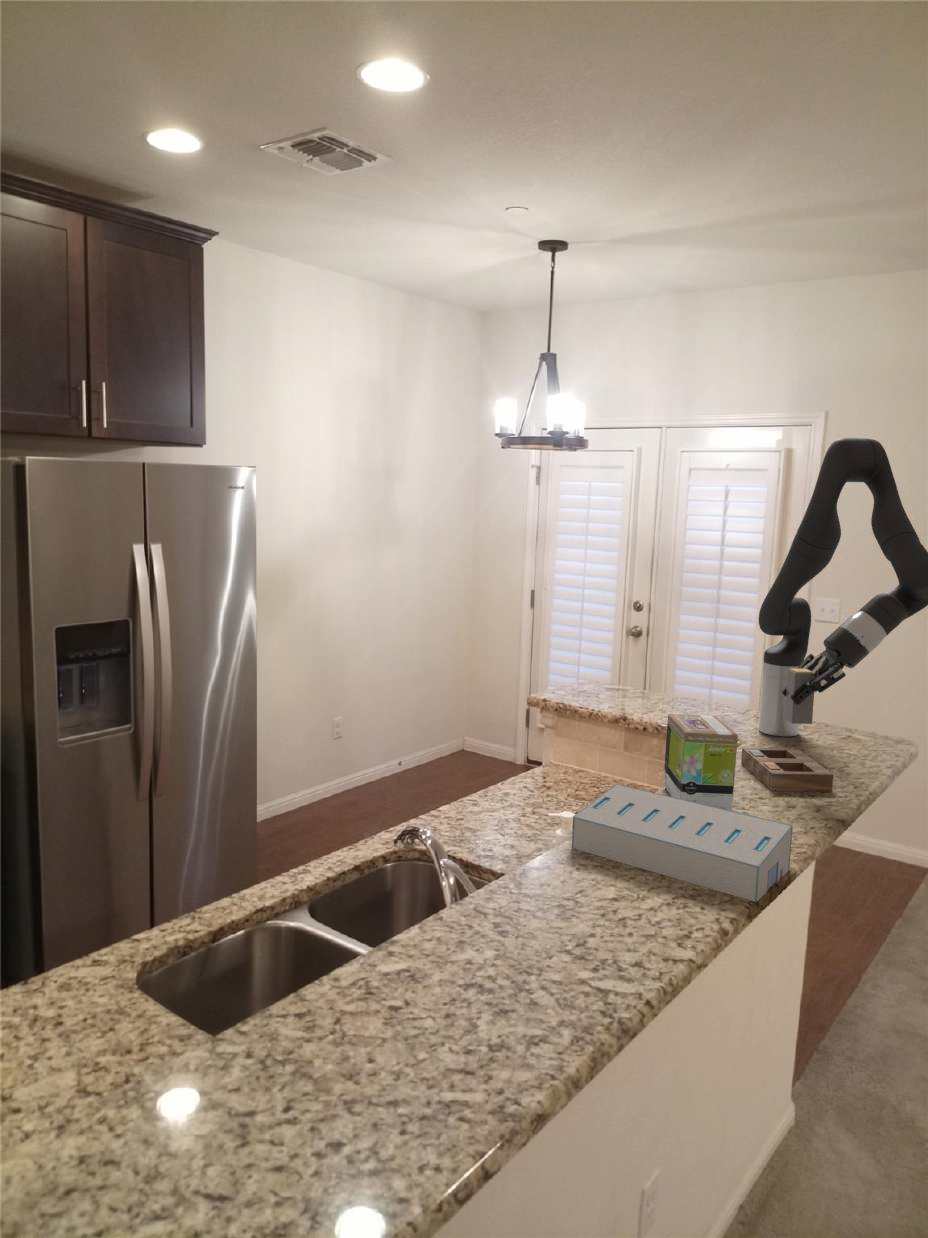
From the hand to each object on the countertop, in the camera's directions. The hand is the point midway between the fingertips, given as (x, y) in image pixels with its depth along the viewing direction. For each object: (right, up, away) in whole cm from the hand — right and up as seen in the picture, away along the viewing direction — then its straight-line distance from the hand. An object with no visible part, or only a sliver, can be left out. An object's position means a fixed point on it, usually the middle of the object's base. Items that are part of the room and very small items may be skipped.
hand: (789, 698), depth 176 cm
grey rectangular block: (+2, -5, +1) cm, 5 cm away
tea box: (-20, -18, -7) cm, 28 cm away
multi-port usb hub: (-31, -23, -36) cm, 53 cm away
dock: (+1, -17, +7) cm, 18 cm away
